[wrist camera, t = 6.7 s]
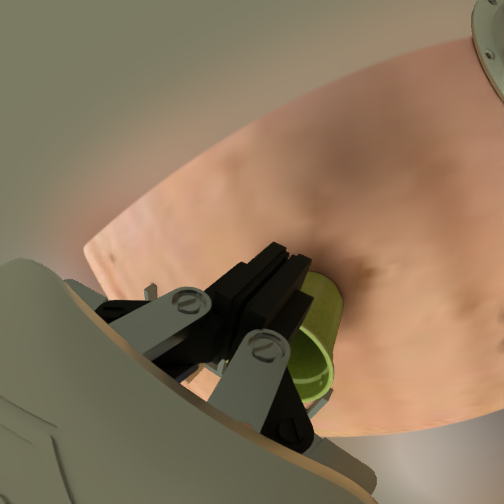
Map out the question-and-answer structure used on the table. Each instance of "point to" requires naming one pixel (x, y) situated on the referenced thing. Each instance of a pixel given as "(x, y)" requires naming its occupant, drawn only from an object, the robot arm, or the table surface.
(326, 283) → the plant pot
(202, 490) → the robot arm
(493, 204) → the table surface
